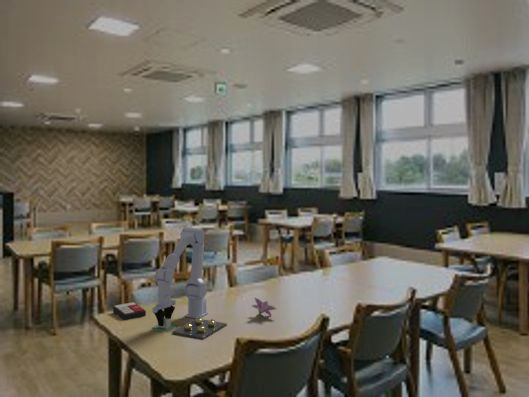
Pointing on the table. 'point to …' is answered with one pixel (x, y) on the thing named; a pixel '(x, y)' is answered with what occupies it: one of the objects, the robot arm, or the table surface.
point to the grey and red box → (129, 311)
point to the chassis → (199, 328)
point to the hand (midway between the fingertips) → (164, 324)
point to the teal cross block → (164, 326)
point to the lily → (263, 307)
